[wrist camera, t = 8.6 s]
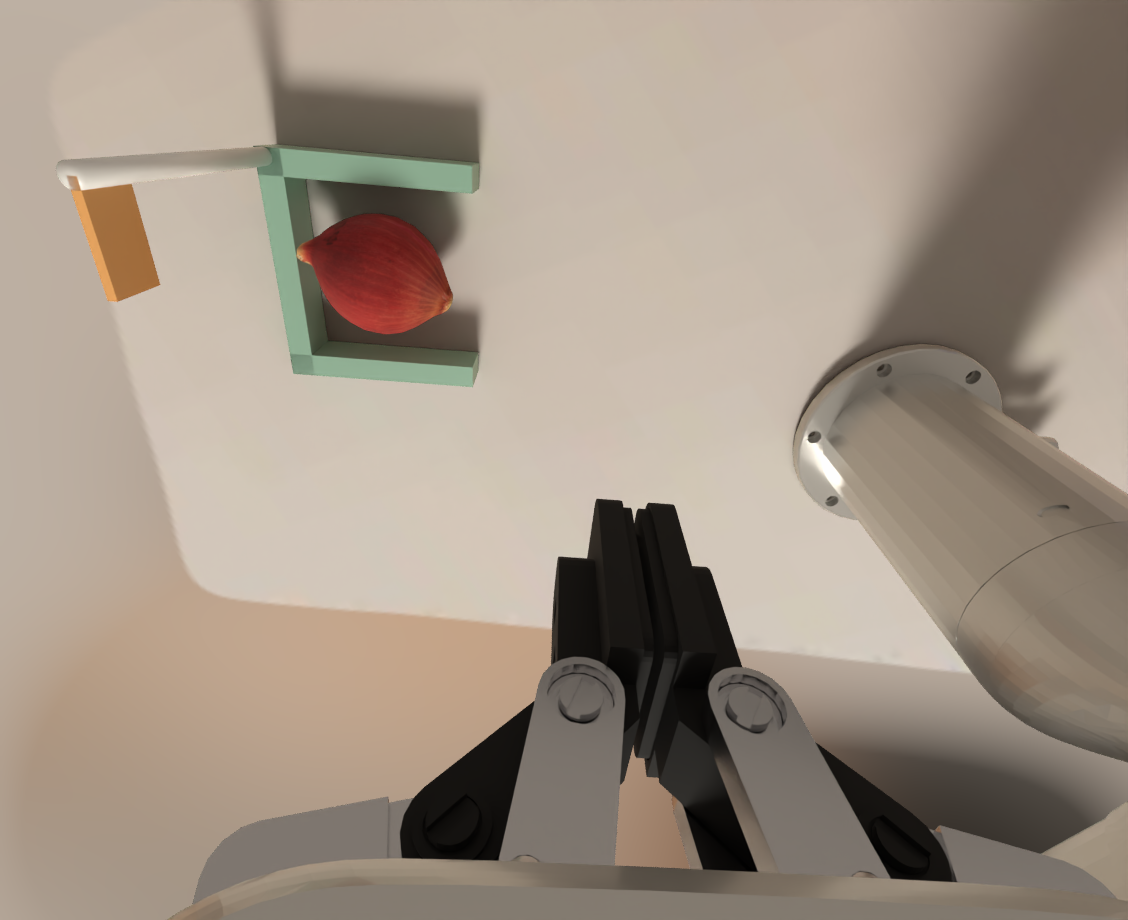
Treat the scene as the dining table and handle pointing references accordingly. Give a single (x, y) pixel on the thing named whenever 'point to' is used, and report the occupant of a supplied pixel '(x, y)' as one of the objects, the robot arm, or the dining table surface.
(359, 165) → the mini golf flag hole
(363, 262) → the onion
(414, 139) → the dining table surface
